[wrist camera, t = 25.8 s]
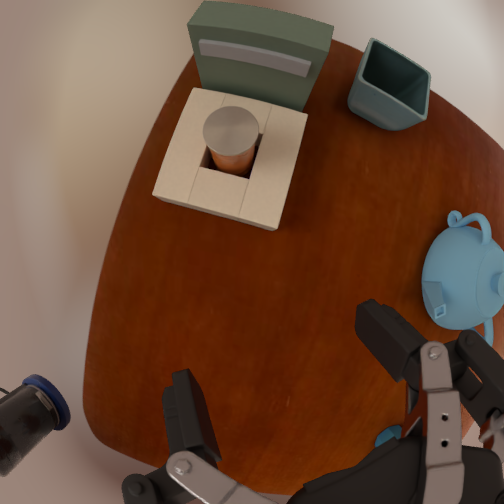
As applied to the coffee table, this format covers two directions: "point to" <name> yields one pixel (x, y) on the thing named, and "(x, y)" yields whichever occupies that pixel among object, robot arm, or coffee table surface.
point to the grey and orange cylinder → (231, 139)
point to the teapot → (464, 276)
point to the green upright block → (258, 52)
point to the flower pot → (389, 88)
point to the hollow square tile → (226, 185)
